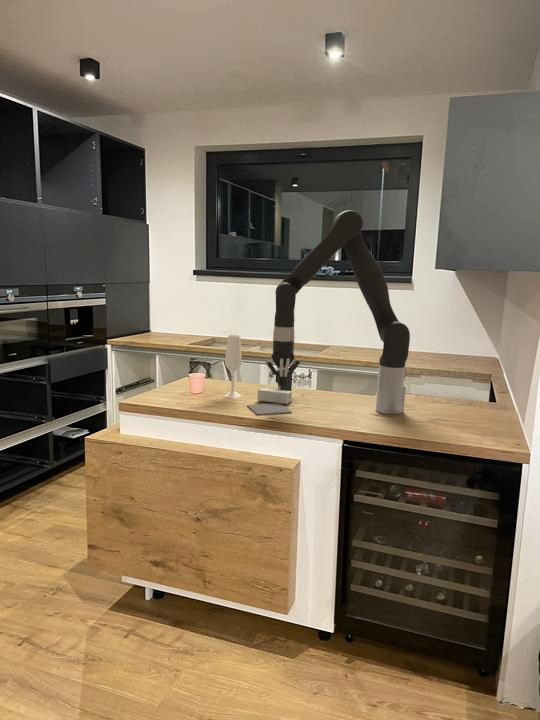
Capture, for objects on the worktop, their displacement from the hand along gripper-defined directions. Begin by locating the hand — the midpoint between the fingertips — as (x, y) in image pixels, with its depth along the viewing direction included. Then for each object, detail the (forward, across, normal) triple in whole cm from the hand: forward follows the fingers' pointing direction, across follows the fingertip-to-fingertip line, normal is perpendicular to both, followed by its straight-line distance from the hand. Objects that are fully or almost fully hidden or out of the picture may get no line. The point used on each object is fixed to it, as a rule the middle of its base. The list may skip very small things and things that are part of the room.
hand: (281, 386), depth 189 cm
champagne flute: (+9, +12, -22) cm, 27 cm away
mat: (+8, +5, 0) cm, 10 cm away
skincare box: (+6, -6, -6) cm, 11 cm away
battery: (+9, -7, -16) cm, 19 cm away
